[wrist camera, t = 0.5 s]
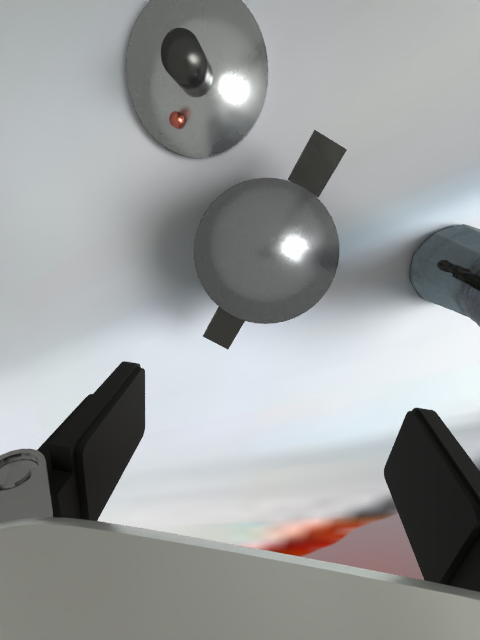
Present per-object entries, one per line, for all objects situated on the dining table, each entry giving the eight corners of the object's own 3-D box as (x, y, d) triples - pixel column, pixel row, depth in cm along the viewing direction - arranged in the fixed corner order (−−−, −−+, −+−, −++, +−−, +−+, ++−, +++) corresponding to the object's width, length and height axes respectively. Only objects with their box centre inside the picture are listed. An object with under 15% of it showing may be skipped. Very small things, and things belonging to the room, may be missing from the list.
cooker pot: (263, 119, 31) (259, 92, 23) (369, 184, 33) (402, 181, 24) (181, 290, 39) (157, 316, 31) (270, 337, 41) (268, 374, 32)
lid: (161, -47, 28) (131, -111, 22) (295, 39, 29) (300, 0, 23) (113, 116, 33) (78, 99, 27) (228, 183, 34) (218, 181, 29)
